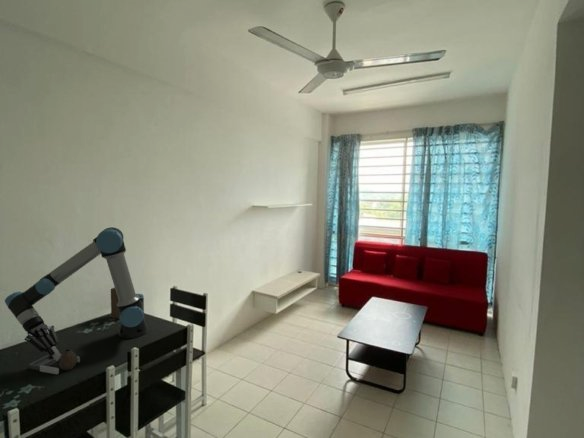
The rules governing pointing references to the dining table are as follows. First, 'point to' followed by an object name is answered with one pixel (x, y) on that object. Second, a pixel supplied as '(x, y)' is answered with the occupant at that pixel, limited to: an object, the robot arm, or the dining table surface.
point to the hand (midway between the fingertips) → (59, 359)
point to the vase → (67, 360)
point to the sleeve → (53, 368)
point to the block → (114, 304)
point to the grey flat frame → (42, 362)
